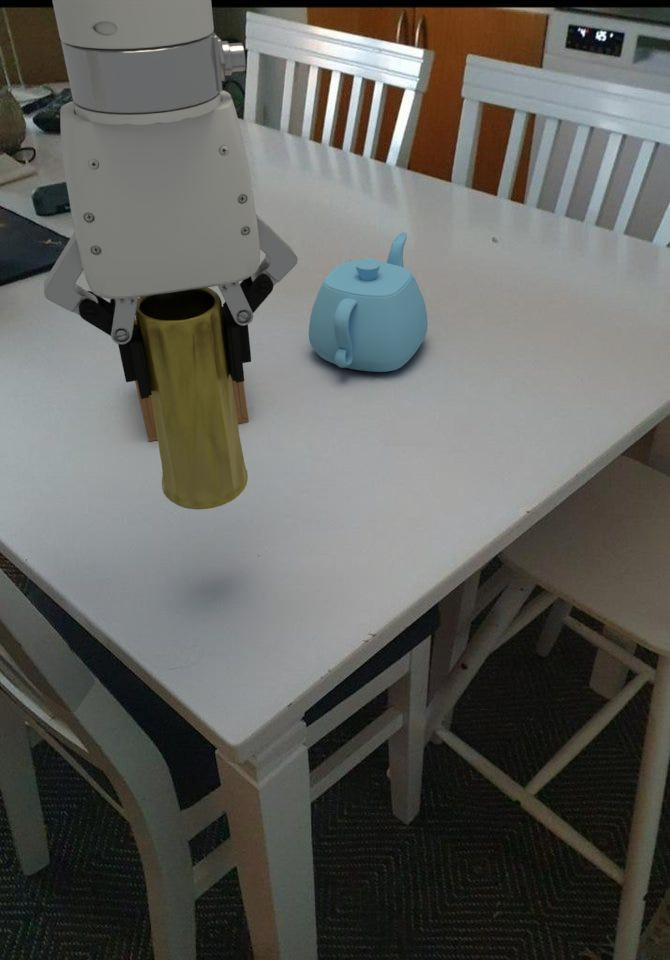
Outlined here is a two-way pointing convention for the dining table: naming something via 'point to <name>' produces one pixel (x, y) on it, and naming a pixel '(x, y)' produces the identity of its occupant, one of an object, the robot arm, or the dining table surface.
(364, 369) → the teapot
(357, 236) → the dining table surface
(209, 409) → the vase
